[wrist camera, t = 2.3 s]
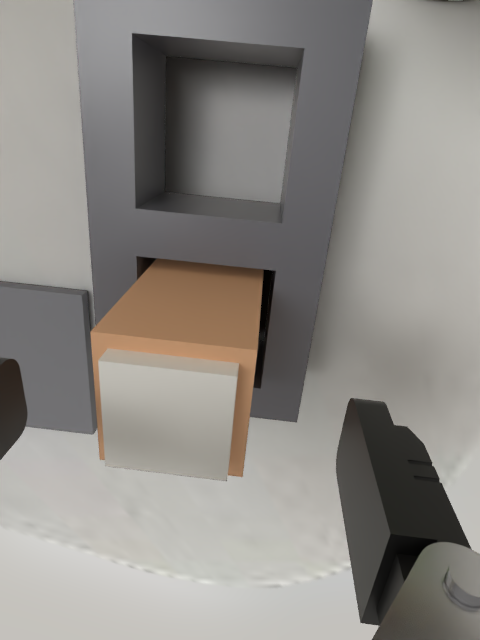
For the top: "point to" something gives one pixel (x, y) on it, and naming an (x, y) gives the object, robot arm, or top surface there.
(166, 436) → the plug
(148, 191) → the grey block holder
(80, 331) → the mat
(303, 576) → the top surface
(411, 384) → the top surface
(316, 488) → the top surface
